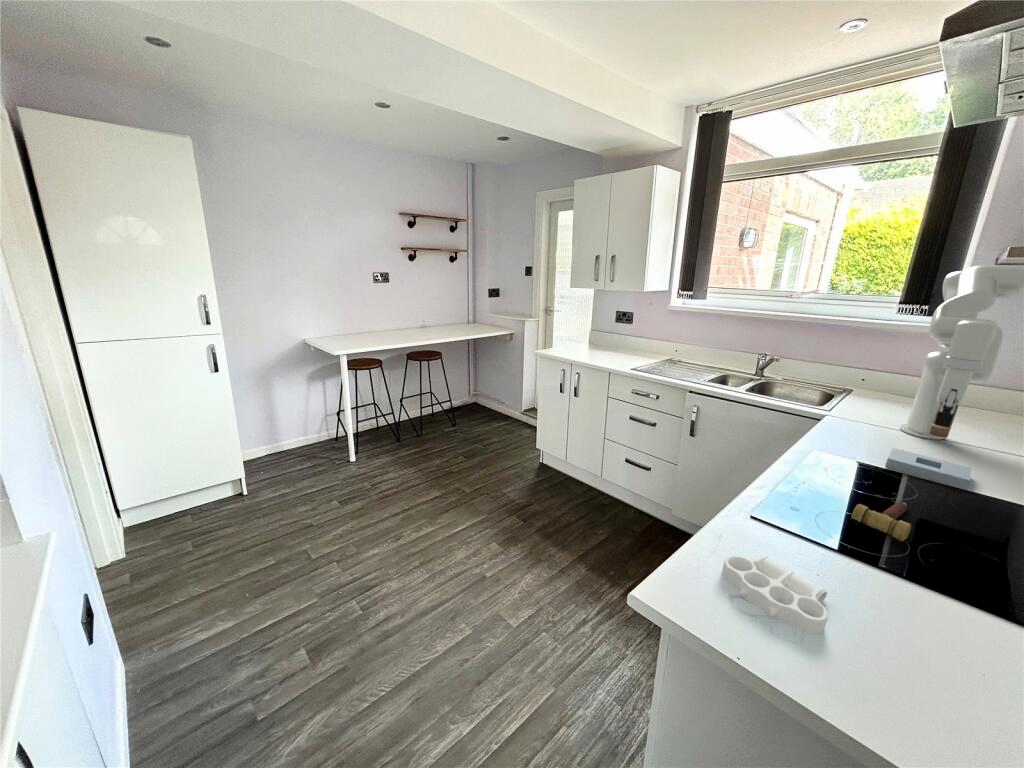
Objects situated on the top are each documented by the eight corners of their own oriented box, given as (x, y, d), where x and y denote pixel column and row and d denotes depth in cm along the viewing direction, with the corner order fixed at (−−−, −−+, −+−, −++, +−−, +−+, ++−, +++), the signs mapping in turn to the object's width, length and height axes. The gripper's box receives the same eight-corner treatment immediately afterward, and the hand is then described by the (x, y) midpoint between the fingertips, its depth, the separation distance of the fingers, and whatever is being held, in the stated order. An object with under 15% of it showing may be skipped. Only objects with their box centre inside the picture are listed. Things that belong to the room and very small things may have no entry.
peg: (929, 431, 130) (939, 400, 127) (948, 435, 127) (959, 404, 125) (928, 434, 127) (939, 403, 125) (947, 438, 125) (958, 406, 122)
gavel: (883, 487, 115) (932, 505, 107) (878, 502, 116) (926, 521, 108) (854, 505, 103) (907, 527, 96) (849, 522, 105) (900, 544, 97)
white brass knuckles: (844, 612, 78) (806, 649, 70) (747, 555, 92) (707, 580, 84) (849, 597, 77) (810, 633, 69) (750, 542, 91) (710, 566, 83)
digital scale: (890, 455, 141) (893, 447, 141) (967, 476, 129) (970, 467, 128) (885, 466, 134) (887, 458, 133) (966, 489, 121) (969, 480, 120)
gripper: (946, 358, 129) (927, 414, 134) (942, 365, 118) (922, 426, 123) (981, 363, 124) (960, 421, 129) (981, 371, 113) (959, 434, 118)
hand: (942, 423), depth 126 cm, fingers closed on peg, 4 cm apart
